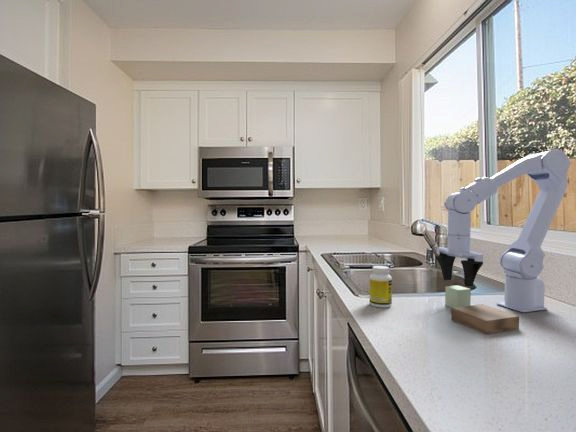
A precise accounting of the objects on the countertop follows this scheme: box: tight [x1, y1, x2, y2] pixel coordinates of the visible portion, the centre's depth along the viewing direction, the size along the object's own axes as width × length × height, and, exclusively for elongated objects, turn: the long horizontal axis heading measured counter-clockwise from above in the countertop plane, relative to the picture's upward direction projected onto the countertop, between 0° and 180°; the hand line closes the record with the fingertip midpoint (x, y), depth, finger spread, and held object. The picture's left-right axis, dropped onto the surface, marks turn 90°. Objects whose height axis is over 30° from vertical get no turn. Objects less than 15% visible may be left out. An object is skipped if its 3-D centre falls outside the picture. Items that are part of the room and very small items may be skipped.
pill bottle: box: [369, 265, 393, 309], centre depth 96 cm, size 6×6×11 cm
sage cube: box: [444, 285, 472, 308], centre depth 95 cm, size 4×4×6 cm
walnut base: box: [450, 303, 520, 335], centre depth 81 cm, size 10×10×3 cm
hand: (457, 282), depth 94 cm, fingers open, 7 cm apart
